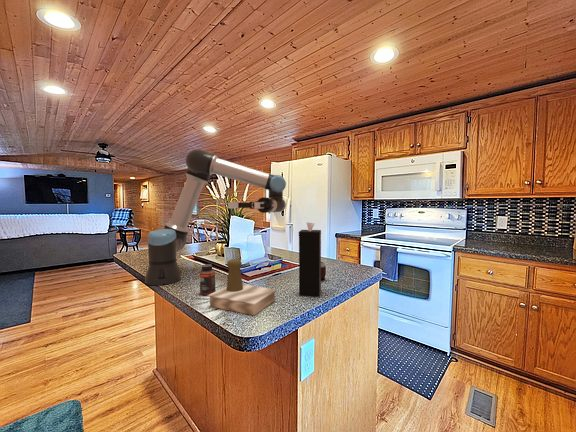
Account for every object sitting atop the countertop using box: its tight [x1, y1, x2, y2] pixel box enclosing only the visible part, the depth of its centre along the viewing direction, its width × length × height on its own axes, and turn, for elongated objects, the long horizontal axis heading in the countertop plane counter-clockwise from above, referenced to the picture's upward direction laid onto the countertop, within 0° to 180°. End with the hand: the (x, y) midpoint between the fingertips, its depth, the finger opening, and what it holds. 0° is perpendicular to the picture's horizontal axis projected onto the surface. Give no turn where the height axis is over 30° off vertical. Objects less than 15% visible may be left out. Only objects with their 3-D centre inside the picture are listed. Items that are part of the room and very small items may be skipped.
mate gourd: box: [321, 261, 327, 281], centre depth 122 cm, size 8×8×15 cm
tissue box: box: [298, 222, 322, 297], centre depth 104 cm, size 8×8×28 cm
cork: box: [226, 258, 244, 292], centre depth 97 cm, size 6×6×11 cm
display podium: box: [207, 284, 277, 316], centre depth 94 cm, size 19×15×4 cm
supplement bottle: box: [199, 263, 217, 296], centre depth 104 cm, size 6×6×11 cm
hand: (241, 205), depth 112 cm, fingers open, 13 cm apart
